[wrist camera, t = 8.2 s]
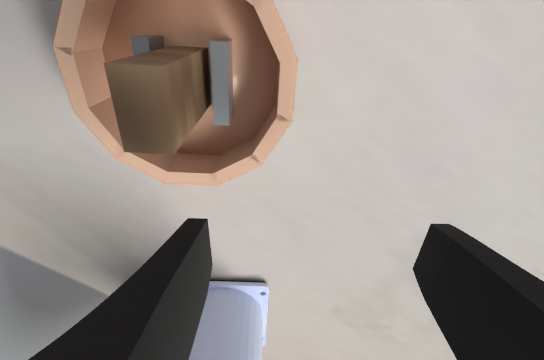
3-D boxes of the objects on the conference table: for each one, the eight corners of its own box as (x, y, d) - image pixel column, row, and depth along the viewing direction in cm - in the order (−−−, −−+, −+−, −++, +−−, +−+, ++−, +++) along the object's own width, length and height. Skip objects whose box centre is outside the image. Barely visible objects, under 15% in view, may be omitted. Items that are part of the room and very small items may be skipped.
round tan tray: (284, 165, 19) (286, 188, 16) (119, 158, 18) (94, 181, 16) (300, -40, 13) (308, -55, 11) (66, -55, 13) (14, -75, 10)
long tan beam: (210, 104, 16) (174, 154, 10) (179, 102, 16) (124, 152, 10) (207, 47, 15) (162, 66, 8) (173, 45, 14) (103, 62, 8)
